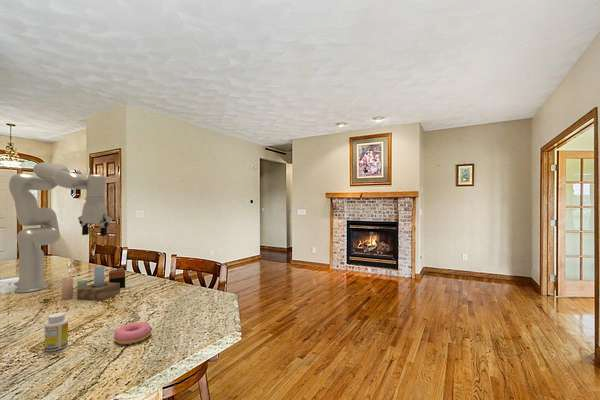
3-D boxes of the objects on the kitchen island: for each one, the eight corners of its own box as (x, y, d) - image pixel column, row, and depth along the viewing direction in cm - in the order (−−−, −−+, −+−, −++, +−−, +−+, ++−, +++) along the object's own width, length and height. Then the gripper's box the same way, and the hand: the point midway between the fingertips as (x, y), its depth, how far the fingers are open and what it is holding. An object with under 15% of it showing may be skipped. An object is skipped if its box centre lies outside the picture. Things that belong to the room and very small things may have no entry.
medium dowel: (59, 299, 135) (60, 280, 135) (67, 296, 139) (67, 277, 139) (67, 300, 135) (67, 280, 135) (75, 297, 139) (75, 278, 139)
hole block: (77, 299, 135) (77, 288, 135) (98, 291, 147) (98, 281, 147) (100, 300, 134) (100, 289, 134) (119, 292, 146) (119, 282, 146)
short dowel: (75, 294, 143) (75, 282, 143) (82, 291, 147) (82, 279, 147) (82, 294, 143) (82, 282, 143) (89, 292, 147) (89, 280, 147)
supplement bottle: (65, 341, 94) (65, 310, 95) (69, 347, 91) (70, 314, 91) (42, 348, 90) (43, 315, 90) (46, 354, 87) (46, 319, 87)
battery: (125, 287, 155) (125, 268, 155) (110, 289, 151) (110, 270, 151) (123, 285, 159) (123, 267, 159) (108, 288, 154) (108, 269, 154)
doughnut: (136, 348, 91) (136, 334, 91) (105, 345, 93) (105, 332, 93) (158, 332, 102) (158, 320, 102) (129, 330, 103) (130, 318, 104)
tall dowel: (91, 297, 139) (92, 267, 139) (98, 294, 143) (99, 266, 143) (99, 297, 138) (99, 268, 138) (106, 295, 142) (106, 266, 142)
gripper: (72, 199, 139) (71, 235, 139) (105, 200, 137) (104, 237, 137) (86, 199, 147) (84, 233, 146) (117, 200, 144) (116, 235, 144)
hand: (94, 235), depth 142 cm, fingers open, 9 cm apart
